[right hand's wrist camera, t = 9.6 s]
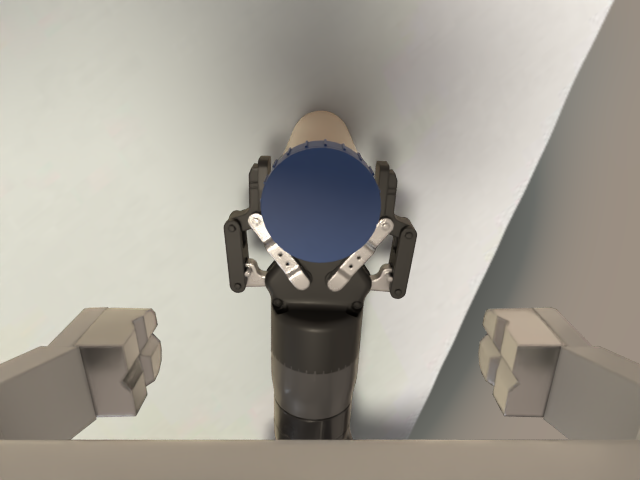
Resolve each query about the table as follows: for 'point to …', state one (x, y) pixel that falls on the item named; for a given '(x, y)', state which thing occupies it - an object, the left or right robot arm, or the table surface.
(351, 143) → the brown cylinder
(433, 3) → the table surface
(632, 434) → the right robot arm
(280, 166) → the lid
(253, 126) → the table surface
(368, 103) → the table surface
